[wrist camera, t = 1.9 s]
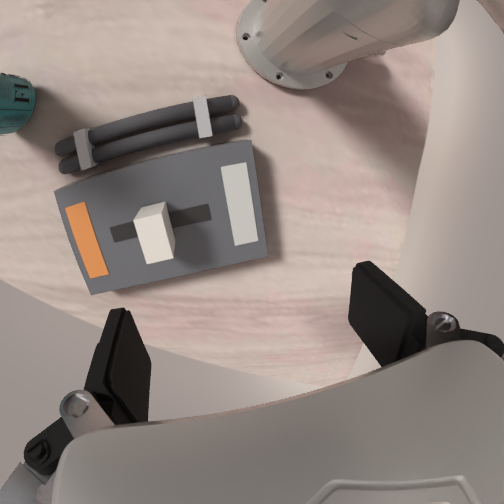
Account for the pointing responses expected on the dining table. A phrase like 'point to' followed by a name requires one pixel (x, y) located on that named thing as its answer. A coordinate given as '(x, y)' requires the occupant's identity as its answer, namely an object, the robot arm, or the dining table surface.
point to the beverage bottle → (15, 102)
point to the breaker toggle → (155, 232)
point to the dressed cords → (201, 127)
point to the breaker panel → (179, 209)
